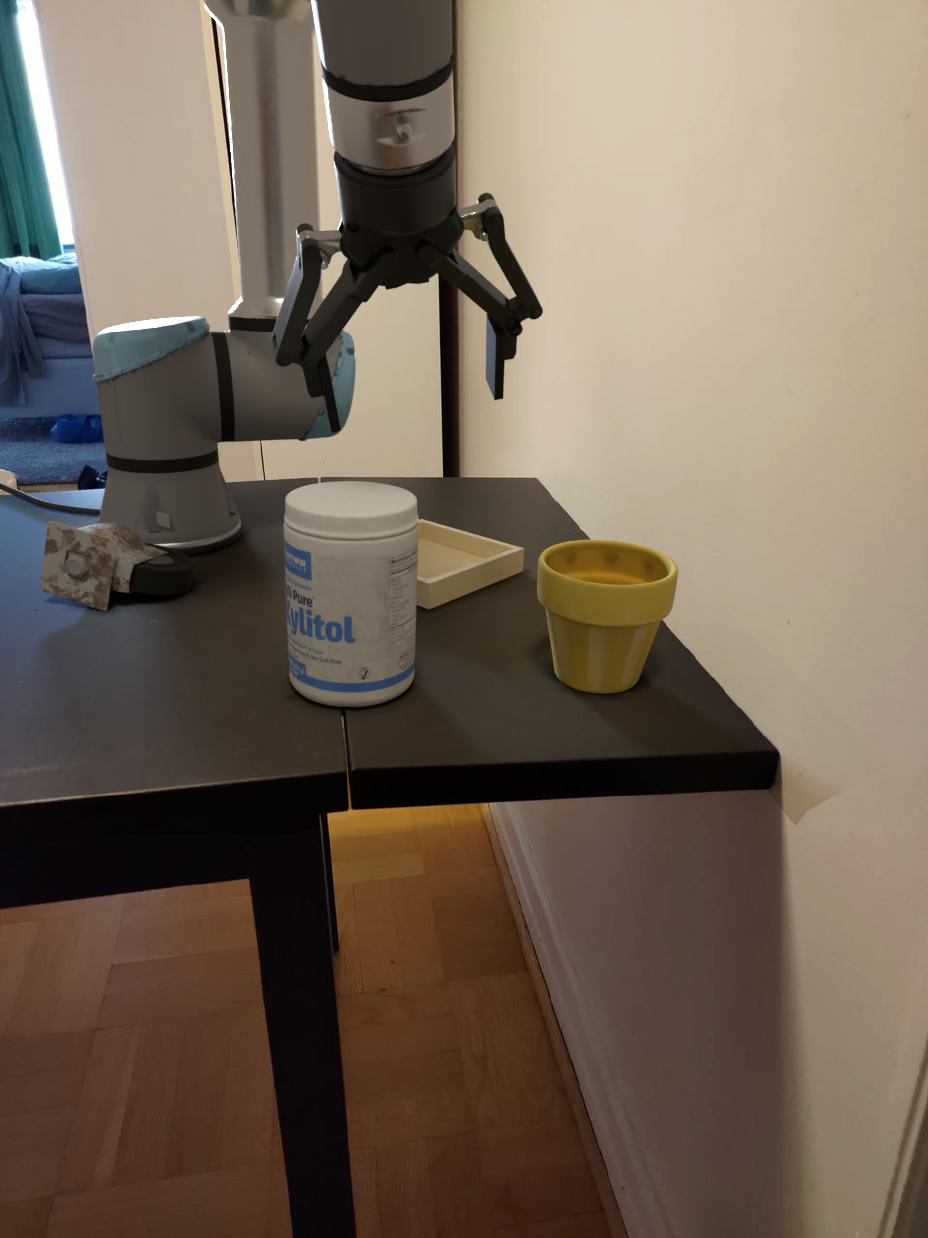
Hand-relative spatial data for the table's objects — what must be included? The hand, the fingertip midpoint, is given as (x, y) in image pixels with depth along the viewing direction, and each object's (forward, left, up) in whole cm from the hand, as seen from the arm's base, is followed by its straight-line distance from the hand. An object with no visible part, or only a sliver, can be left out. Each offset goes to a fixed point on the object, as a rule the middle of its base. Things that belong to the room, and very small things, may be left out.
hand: (414, 404), depth 70 cm
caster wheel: (-23, -14, -19) cm, 34 cm away
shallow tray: (-7, +10, -19) cm, 23 cm away
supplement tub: (+6, -12, -19) cm, 24 cm away
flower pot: (+19, +2, -19) cm, 27 cm away
